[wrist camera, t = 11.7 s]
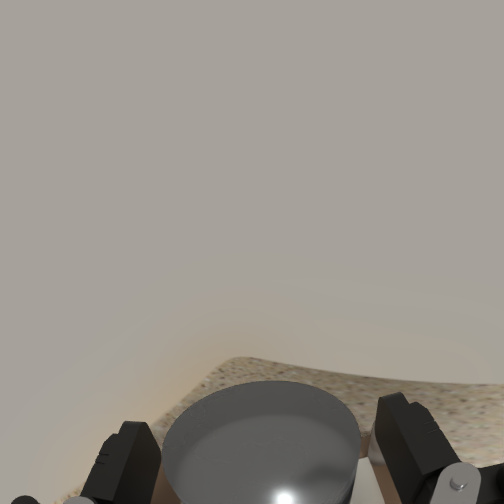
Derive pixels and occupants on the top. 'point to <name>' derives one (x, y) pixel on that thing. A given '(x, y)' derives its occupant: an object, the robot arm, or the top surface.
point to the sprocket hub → (264, 447)
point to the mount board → (365, 486)
